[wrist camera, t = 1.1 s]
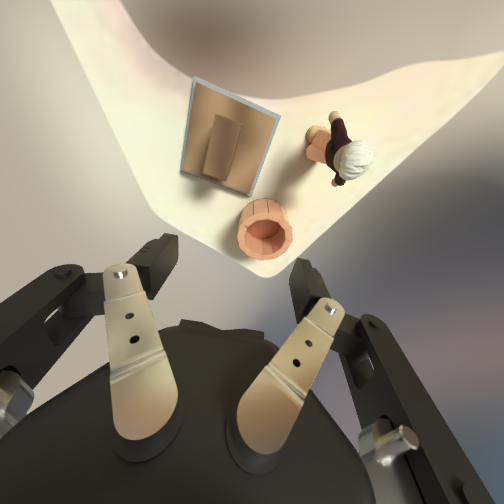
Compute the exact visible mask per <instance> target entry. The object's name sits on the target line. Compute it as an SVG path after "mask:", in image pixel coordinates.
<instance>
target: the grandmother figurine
mask: <svg viewBox="0 0 504 504" xmlns="http://www.w3.org/2000/svg"><path fill="white" fill-rule="evenodd" d="M328 119H329V122H330V124H331V131H330V130H327V128H325V127H321V126H312V127H310V128H309V130H308V132H307V140H308V141H309V142H310V143H311V144H310V145H309V146H308V148H307V150H306V156H307V158H309V159H310V160H311V161H313V162H321V163H325V164H327V166H328V167H330V168H331V169H332V170H333V171H334V172H336V175H335V178H334V179H333V180H332V182H331V183H332V185H333V186H334V187H336V186H338V185H339V186H342V185H344V183H345V181H346V180H353V179H356V178H357V177H359V176H361V175H362V174H363V173H365V172H366V170H367V169H368V168H369V166H370V165H371V164H372V162H373V157H374V150H373V148H372V147H371V145H370V144H369V143H368V142H367V141H364V140H356V141H351V140H350V139H349V138H348V136H347V131H346V128H345V125H344V122H343V119H341V117H340V116H339V113H338V112H337V111H333V112H331V113H330V115H329V118H328Z"/></svg>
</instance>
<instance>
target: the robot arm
mask: <svg viewBox="0 0 504 504" xmlns="http://www.w3.org/2000/svg"><path fill="white" fill-rule="evenodd" d="M177 261H178V236H177V235H173V234H168V233H164V234H163V235H162V236H161V237H160V238H159V239H154V240H151V241H149V242H147V243H146V244H145V245H144V246H143V248H141V249H140V250H139V251H138V252H137V253H136V254H135V255H134V256H133V257H131V258H130V259H129V260H128V261H127V262H126V263H121V264H116V265H112V266H110V267H108V268H107V269H106V270H105V271H104V272H103V273H84V270H83V268H82V267H81V266H79V265H75V264H67V265H61V266H57V267H54V268H52V269H49V270H48V271H46V272H45V273H43V274H42V275H40V276H39V277H38V278H36V279H35V280H33V281H32V282H30V283H29V284H27V285H26V286H24V287H23V288H22V289H20V290H19V291H17V292H16V293H14V294H13V295H12V296H10V297H9V298H7V299H6V300H5V301H3V302H1V303H0V504H495V502H494V500H493V499H492V497H491V496H490V494H489V492H488V491H487V489H486V487H485V486H484V484H483V482H482V481H481V479H480V478H479V476H478V474H477V473H476V471H475V469H474V468H473V466H472V464H471V463H470V461H469V459H468V458H467V456H466V455H465V453H464V451H463V450H462V448H461V447H460V445H459V443H458V441H457V440H456V438H455V437H454V435H453V434H452V432H451V430H450V429H449V427H448V425H447V423H446V422H445V420H444V419H443V417H442V415H441V414H440V412H439V410H438V409H437V407H436V405H435V404H434V402H433V401H432V399H431V397H430V396H429V394H428V392H427V391H426V389H425V388H424V386H423V384H422V382H421V381H420V379H419V378H418V376H417V374H416V373H415V371H414V370H413V368H412V366H411V364H410V363H409V361H408V360H407V358H406V356H405V355H404V353H403V352H402V350H401V348H400V346H399V345H398V343H397V341H396V340H395V338H394V337H393V335H392V333H391V332H390V330H389V328H388V327H387V326H386V324H385V323H384V322H383V321H381V320H380V319H379V318H377V317H375V316H373V315H370V314H364V315H362V316H361V317H360V319H358V318H355V317H353V316H351V315H348V314H346V313H345V312H344V309H343V307H342V306H341V305H340V304H339V303H338V302H336V301H335V300H333V299H331V297H330V294H329V292H328V290H327V288H326V285H325V283H324V281H323V279H322V276H321V274H320V273H319V272H318V271H317V270H316V269H315V268H312V266H311V263H310V261H309V260H307V259H302V258H297V260H296V262H295V264H294V267H293V270H292V272H291V275H290V278H289V286H290V291H291V296H292V301H293V306H294V311H295V316H296V321H297V324H299V325H298V326H297V327H296V329H295V330H294V331H293V333H292V334H291V335H290V337H289V338H288V339H287V341H286V342H285V343H284V344H283V346H282V347H281V348H280V349H279V348H278V347H277V346H276V345H275V344H273V343H272V342H270V341H268V340H266V339H264V332H262V331H256V330H249V329H234V330H220V329H217V328H215V327H213V326H210V325H208V324H205V323H203V322H198V321H190V320H184V319H181V321H180V324H179V326H172V327H168V328H164V329H162V330H159V331H158V330H157V327H156V324H155V321H154V318H153V315H152V312H151V308H150V305H149V302H148V299H149V300H153V299H154V297H155V296H156V294H157V293H158V291H159V290H160V288H161V287H162V285H163V283H164V282H165V281H166V279H167V277H168V276H169V274H170V273H171V271H172V270H173V268H174V267H175V265H176V263H177ZM56 309H58V311H57V312H56V313H55V314H54V315H52V316H51V318H50V319H48V320H47V321H46V322H45V320H46V318H47V317H48V316H49V315H50V314H51V313H52V312H53V311H54V310H56ZM95 315H105V320H106V331H107V341H108V351H109V362H108V363H106V364H105V365H103V366H102V367H100V368H99V369H97V370H95V371H94V372H93V373H91V374H89V375H88V376H86V377H84V378H83V379H81V380H80V381H78V382H77V383H75V384H74V385H72V386H70V387H69V388H67V389H66V390H64V391H63V392H61V393H60V394H58V395H56V396H55V397H53V398H52V399H50V400H49V401H47V402H45V403H44V404H42V405H41V406H40V407H38V408H36V409H35V410H33V411H32V412H30V413H29V414H27V411H28V410H29V408H30V407H31V405H32V403H33V400H34V392H33V389H34V388H35V387H36V385H37V384H38V383H39V382H40V381H41V379H42V378H43V377H44V376H45V374H46V373H47V372H48V371H49V370H50V369H51V367H52V366H53V365H54V364H55V363H56V361H57V360H58V359H59V358H60V357H61V355H62V354H63V353H64V352H65V351H66V349H67V348H68V347H69V346H70V345H71V343H72V342H73V341H74V340H75V338H76V337H77V336H78V335H79V334H80V332H81V331H82V330H83V329H84V328H85V326H86V325H87V324H88V323H89V322H90V320H91V319H92V318H93V317H94V316H95ZM44 322H45V323H44ZM329 349H331V350H333V351H336V352H338V353H339V356H340V359H341V363H342V366H343V369H344V373H345V376H346V379H347V382H348V386H349V389H350V392H351V395H352V399H353V402H354V405H355V408H356V412H357V415H358V418H359V421H360V425H361V428H362V431H361V432H360V433H359V436H358V446H359V454H358V452H357V451H356V449H355V448H354V446H353V445H352V443H351V442H350V441H349V439H348V438H347V437H346V435H345V434H344V433H343V431H342V430H341V429H340V427H339V426H338V425H337V424H336V422H335V421H334V419H333V418H332V417H331V415H330V414H329V413H328V411H327V410H326V409H325V407H324V406H323V405H322V404H321V402H320V401H319V399H318V398H317V397H316V395H315V394H314V393H313V391H312V390H311V389H310V387H311V385H312V383H313V381H314V379H315V377H316V375H317V373H318V371H319V369H320V366H321V365H322V363H323V360H324V358H325V356H326V354H327V352H328V350H329ZM369 357H370V359H371V362H372V364H373V367H374V370H373V368H372V365H371V363H370V361H369V359H368V358H369Z"/></svg>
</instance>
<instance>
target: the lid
mask: <svg viewBox="0 0 504 504" xmlns="http://www.w3.org/2000/svg"><path fill="white" fill-rule="evenodd" d="M275 121H276V118H274V117H272V116H269V115H267V114H265V113H263V112H261V111H258V110H256V109H254V108H252V107H250V106H248V105H245V104H243V103H241V102H239V101H237V100H235V99H232V98H230V97H228V96H226V95H224V94H222V93H219V92H217V91H215V90H213V89H211V88H208V87H206V86H204V85H202V84H200V83H198V82H196V85H195V91H194V98H193V105H192V111H191V118H190V125H189V131H188V138H187V145H186V151H185V158H184V165H183V170H184V171H187V172H190V173H192V174H195V175H198V176H201V177H203V178H206V179H209V180H212V181H214V182H217V183H220V184H222V185H225V186H228V187H231V188H233V189H236V190H239V191H242V192H244V193H247V194H249V193H250V190H251V188H252V185H253V182H254V179H255V176H256V174H257V171H258V168H259V165H260V163H261V160H262V157H263V154H264V151H265V149H266V146H267V143H268V140H269V138H270V135H271V132H272V129H273V126H274V124H275Z"/></svg>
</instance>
